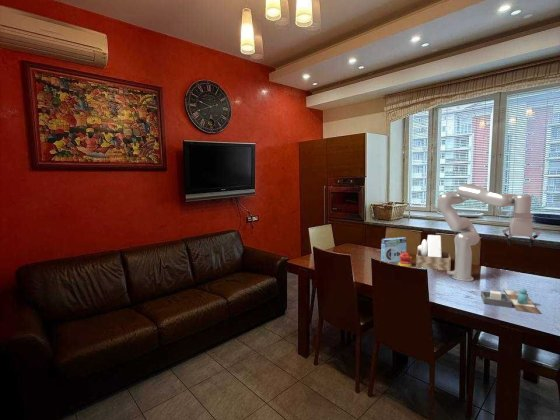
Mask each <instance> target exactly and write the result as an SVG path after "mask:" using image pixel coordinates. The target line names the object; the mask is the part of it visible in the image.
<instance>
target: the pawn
mask: <svg viewBox="0 0 560 420" xmlns="http://www.w3.org/2000/svg"><path fill="white" fill-rule="evenodd" d="M518 291H519V292H518V300H517V302H518V303H520V304H524V305H526V304H527V303H528V297H529V294H528V291H527V289H526V288H520V289H519V290H518Z"/></svg>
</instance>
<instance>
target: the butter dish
mask: <svg viewBox="0 0 560 420" xmlns="http://www.w3.org/2000/svg"><path fill="white" fill-rule="evenodd" d="M417 250H419V251H421V254H422V256H427V257H438V258H441V252H442V235H436V234H427V238H426V239H425V238H424V239H422V241H421V244H419V245H418V246H417Z"/></svg>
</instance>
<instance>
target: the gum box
mask: <svg viewBox="0 0 560 420" xmlns="http://www.w3.org/2000/svg"><path fill="white" fill-rule="evenodd" d="M380 243H381V244H380V245H381V246H380V248H381V249H380V250H381V251H380V262H381V261H384V262H388V263H393V264H397V265H398V263H399V261H400V260H401V259H400V254H401V253H404V252H405V253H407V237H405V236H399V237H389V238H381V241H380Z"/></svg>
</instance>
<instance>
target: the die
mask: <svg viewBox="0 0 560 420" xmlns="http://www.w3.org/2000/svg"><path fill="white" fill-rule="evenodd" d="M489 292H490V299H496V300H501V294H502V293H501V291H497V290H489Z"/></svg>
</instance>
